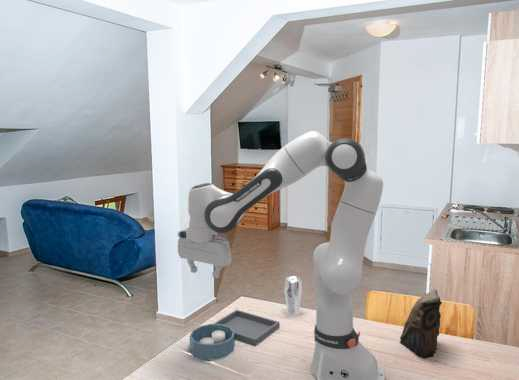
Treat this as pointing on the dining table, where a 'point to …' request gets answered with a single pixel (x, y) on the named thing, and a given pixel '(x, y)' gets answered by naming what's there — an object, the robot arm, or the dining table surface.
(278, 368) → the dining table surface
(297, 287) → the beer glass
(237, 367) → the dining table surface
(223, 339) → the stone
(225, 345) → the bowl
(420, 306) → the owl
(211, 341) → the stone
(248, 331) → the tray
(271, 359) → the dining table surface
